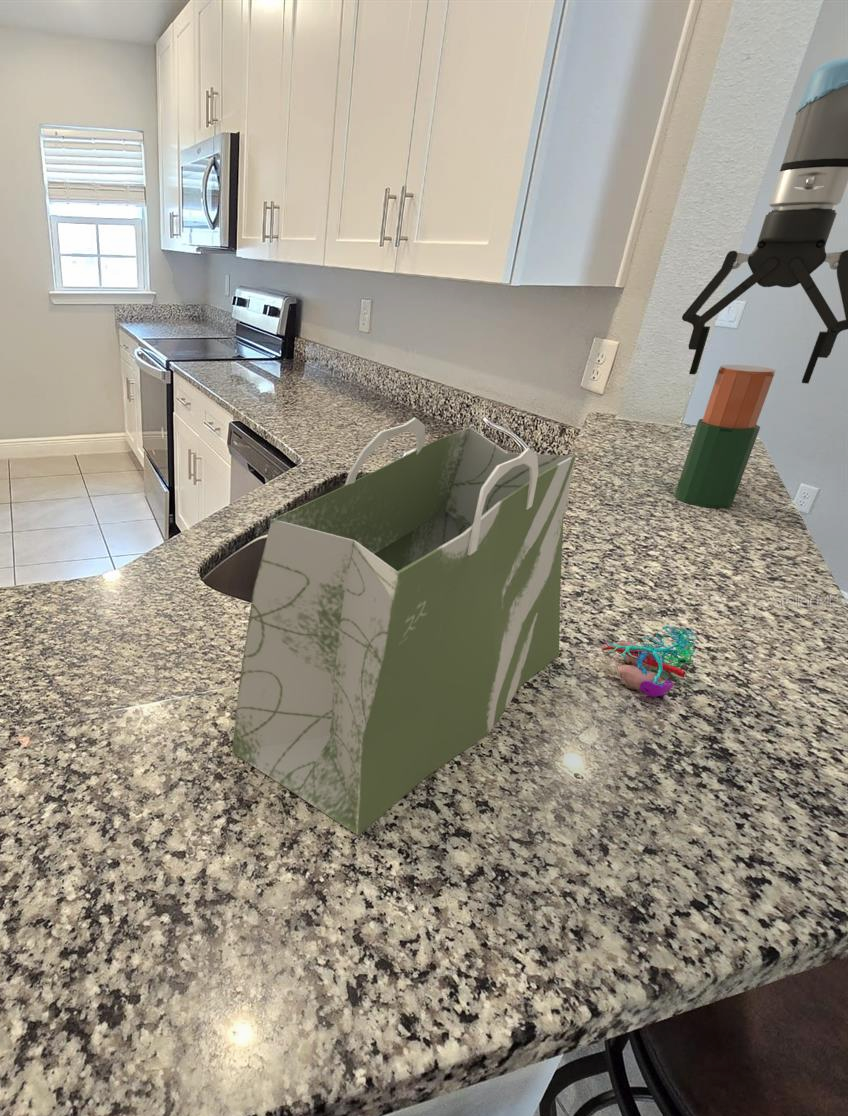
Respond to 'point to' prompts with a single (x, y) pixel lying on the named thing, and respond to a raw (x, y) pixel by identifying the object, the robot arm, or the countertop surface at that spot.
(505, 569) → the grocery bag
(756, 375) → the orange octagonal cylinder
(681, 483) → the bottle
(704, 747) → the countertop surface
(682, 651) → the anatomy model
